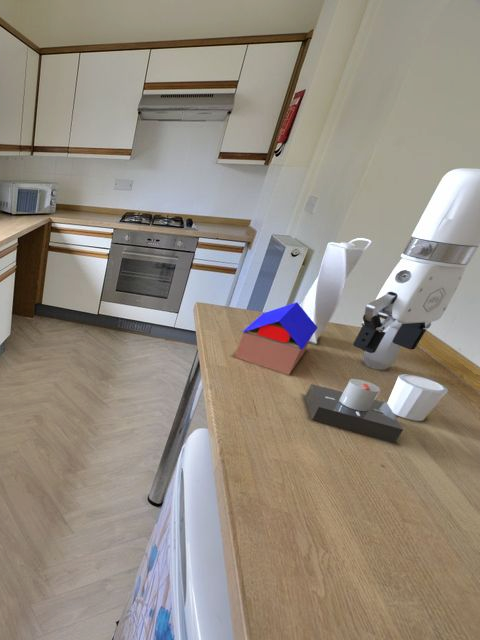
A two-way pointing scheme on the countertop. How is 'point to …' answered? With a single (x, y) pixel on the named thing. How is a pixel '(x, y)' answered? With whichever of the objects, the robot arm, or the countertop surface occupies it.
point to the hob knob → (359, 395)
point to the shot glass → (415, 396)
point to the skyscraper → (330, 283)
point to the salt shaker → (384, 349)
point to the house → (277, 338)
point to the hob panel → (353, 414)
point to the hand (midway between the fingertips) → (383, 347)
